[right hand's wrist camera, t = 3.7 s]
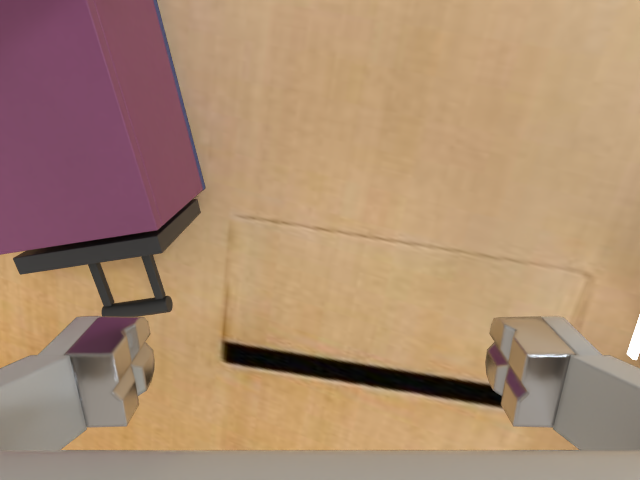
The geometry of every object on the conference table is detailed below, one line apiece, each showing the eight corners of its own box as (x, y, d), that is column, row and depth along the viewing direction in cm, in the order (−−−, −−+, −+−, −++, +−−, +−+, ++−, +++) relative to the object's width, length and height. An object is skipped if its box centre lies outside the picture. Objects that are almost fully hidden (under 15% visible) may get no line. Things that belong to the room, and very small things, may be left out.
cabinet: (205, 188, 37) (158, 230, 26) (82, 208, 38) (-11, 256, 27) (127, -111, 30) (21, -212, 19) (-23, -79, 30) (-202, -159, 20)
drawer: (218, 275, 39) (186, 332, 30) (112, 291, 39) (52, 350, 31) (127, -63, 30) (46, -120, 21) (-7, -35, 31) (-137, -80, 22)
